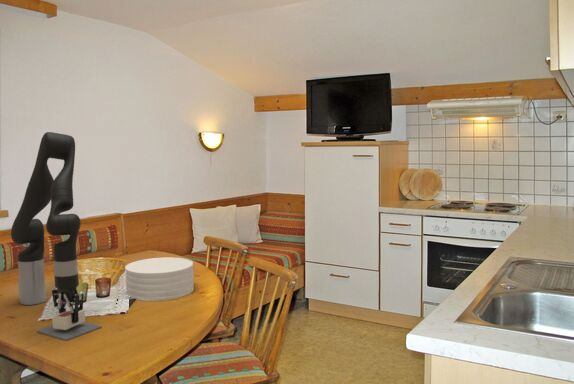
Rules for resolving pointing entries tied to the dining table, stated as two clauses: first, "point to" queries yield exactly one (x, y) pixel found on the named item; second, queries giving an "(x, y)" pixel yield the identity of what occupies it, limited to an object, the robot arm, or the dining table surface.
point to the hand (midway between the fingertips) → (68, 321)
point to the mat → (69, 331)
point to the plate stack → (159, 278)
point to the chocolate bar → (129, 306)
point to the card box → (67, 320)
